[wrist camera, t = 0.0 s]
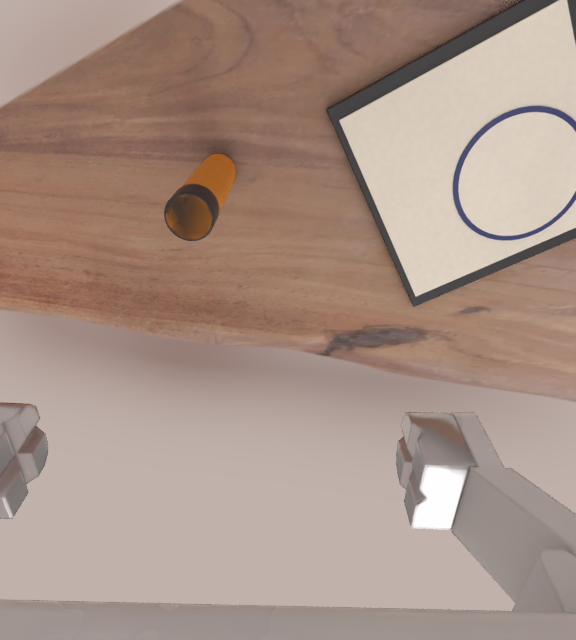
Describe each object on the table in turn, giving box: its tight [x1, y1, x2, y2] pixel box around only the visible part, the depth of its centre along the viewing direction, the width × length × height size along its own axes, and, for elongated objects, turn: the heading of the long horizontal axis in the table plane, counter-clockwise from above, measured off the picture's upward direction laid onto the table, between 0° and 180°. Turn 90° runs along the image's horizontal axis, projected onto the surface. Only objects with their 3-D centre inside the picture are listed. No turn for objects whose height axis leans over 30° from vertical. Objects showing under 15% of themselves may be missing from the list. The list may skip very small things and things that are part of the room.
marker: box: [164, 154, 236, 241], centre depth 31 cm, size 3×3×13 cm
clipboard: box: [326, 0, 576, 307], centre depth 36 cm, size 18×18×2 cm
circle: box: [453, 106, 576, 241], centre depth 36 cm, size 10×10×1 cm
